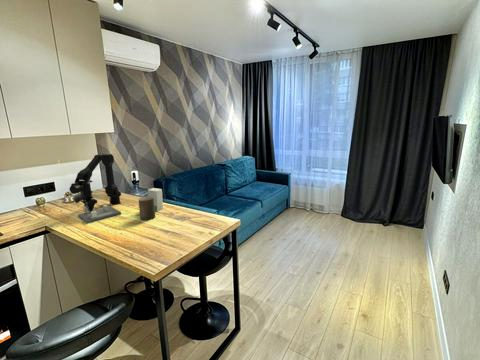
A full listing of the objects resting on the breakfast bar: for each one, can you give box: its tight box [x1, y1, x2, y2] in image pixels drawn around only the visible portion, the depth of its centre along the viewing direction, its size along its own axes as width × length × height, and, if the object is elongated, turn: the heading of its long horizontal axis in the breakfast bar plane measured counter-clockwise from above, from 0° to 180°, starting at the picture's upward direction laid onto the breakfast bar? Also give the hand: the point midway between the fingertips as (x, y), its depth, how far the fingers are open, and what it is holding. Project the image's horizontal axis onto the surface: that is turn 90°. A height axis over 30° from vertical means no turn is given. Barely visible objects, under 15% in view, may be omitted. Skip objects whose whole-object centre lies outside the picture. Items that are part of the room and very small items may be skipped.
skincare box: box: [147, 187, 164, 212], centre depth 190 cm, size 8×7×16 cm
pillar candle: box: [137, 195, 156, 221], centre depth 175 cm, size 10×10×15 cm
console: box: [77, 206, 122, 225], centre depth 181 cm, size 22×18×2 cm
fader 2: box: [102, 204, 109, 211], centre depth 184 cm, size 2×3×4 cm
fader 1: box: [91, 211, 97, 218], centre depth 173 cm, size 2×3×4 cm
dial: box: [82, 205, 96, 214], centre depth 181 cm, size 6×3×6 cm, turn 137°
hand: (89, 211), depth 182 cm, fingers open, 5 cm apart
